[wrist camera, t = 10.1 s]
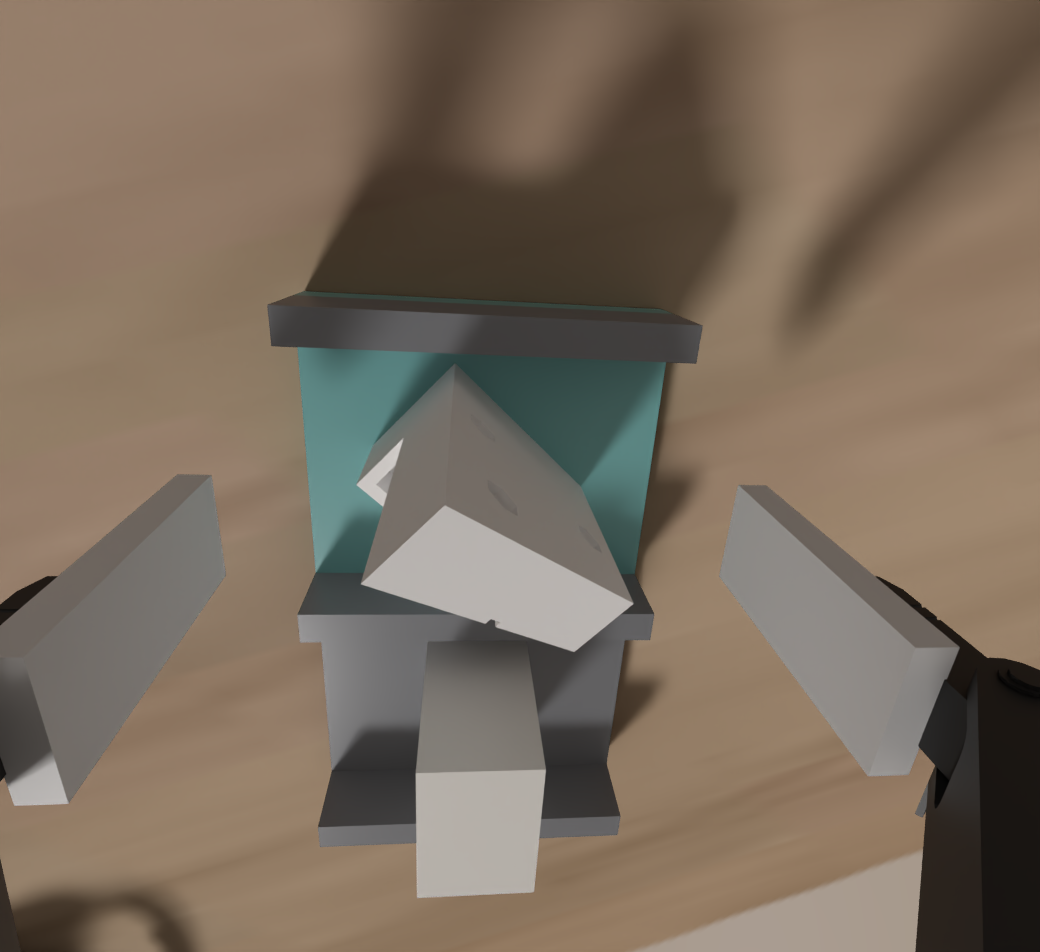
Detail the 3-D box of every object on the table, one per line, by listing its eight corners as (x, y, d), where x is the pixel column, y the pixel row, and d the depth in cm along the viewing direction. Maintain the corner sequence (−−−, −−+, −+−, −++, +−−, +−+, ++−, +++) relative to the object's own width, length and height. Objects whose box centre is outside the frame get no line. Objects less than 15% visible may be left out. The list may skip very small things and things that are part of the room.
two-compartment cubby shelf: (339, 764, 25) (319, 847, 22) (304, 291, 18) (267, 304, 15) (597, 758, 26) (617, 834, 23) (661, 309, 19) (702, 325, 16)
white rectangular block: (428, 740, 23) (417, 897, 18) (428, 633, 22) (415, 773, 16) (517, 738, 24) (533, 892, 18) (525, 633, 22) (546, 769, 16)
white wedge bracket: (320, 253, 14) (445, 505, 9) (542, 433, 22) (685, 630, 16) (224, 361, 15) (282, 657, 9) (470, 499, 22) (584, 709, 17)
